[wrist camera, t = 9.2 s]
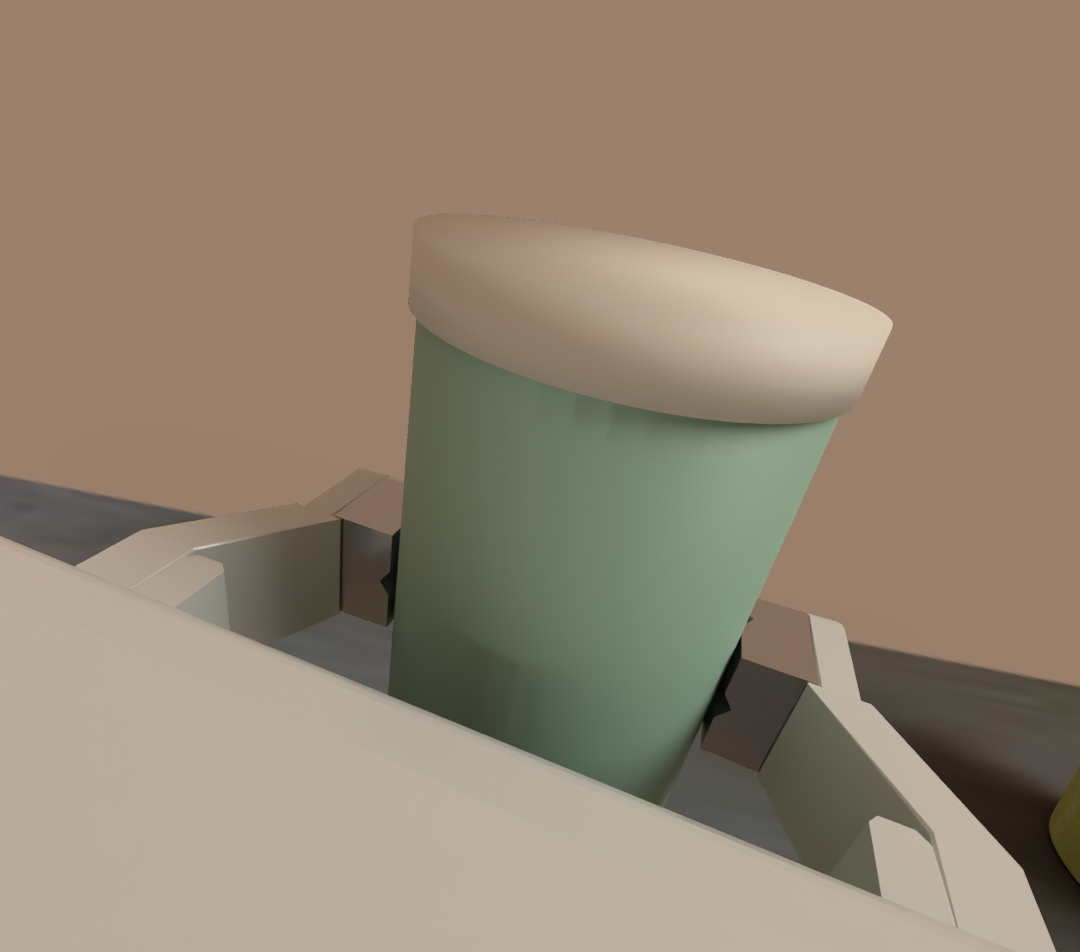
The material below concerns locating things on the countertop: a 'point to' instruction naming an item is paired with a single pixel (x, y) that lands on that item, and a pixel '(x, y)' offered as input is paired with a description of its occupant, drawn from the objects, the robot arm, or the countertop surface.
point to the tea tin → (602, 479)
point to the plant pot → (1068, 827)
